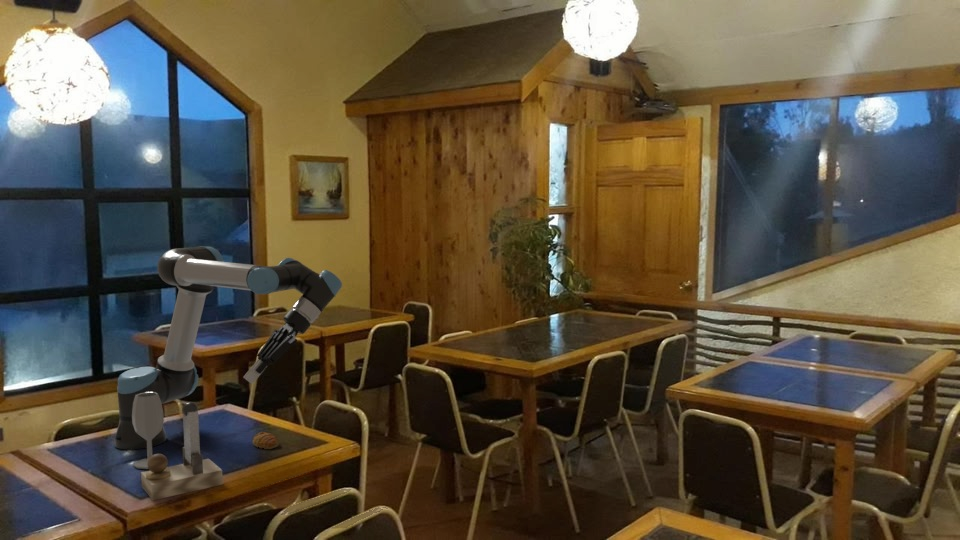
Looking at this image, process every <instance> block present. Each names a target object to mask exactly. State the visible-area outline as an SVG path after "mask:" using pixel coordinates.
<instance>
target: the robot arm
mask: <svg viewBox="0 0 960 540" xmlns="http://www.w3.org/2000/svg"><path fill="white" fill-rule="evenodd" d="M157 273H158V276H159V277H160V278H161V280H162V281H163V282H165V283H166V284H168V285H171V286H176V288H177V289H178V292H177V297H176V300H175V306H174V310H173V314H172V318H171V323H170V326H169V327H170V328H169V331H168V337H167V341H166V344H165V349H164V353H163V354H162V355H161V356H159V357H158V358H157V362H156V366H155V367H153V366H140V367H134V368H131V369H128V370H125V371H124V372H122V373H121V374H119V376H118V378H117V387H116V389H117V398H118V399H117V400H118V414H119V422H118V426H117V428H116V432H115V436H114V447H115V448H116V449H120V450H140V449H147V440H145V439H144V438H142V437H141V436H140V435H138V434H137V433H136V432H135V429H134V426H133V423H132V409H133V402H134V398H135V395H137V394H140V393H145V392H156V393H158V395H159V398H160V400H161V404H163V405H164V404H166V403H169V402H172V401H176V400H181V399H183V398H185V397H187V396H189V395H191V394H192V393H193V392H194V391H195V389H197V386H198V383H199V374H197V372H198V371H197V368H196V366H195V362H194V361H193V359H192V357H193V352H194V347H195V345H196V339H197V335H198V331H199V328H200V323H201V319H202V314H203V310H204V307H205V306H204V305H205V301H206V297H207V295H208V294H211V293H212V292H213V290H214V287H217V288H218V287H219V288H225V289H226V288H228V289H235V290H243V291H251V292H253V293H254V294H255V295H269V294H272V293H276V292H277V293H278V292H282V291H288V290H289V291H290V290H296V291H297V292H299V293H300V294H302V295H301V296H300V297H299V298H298V300H297V301H296V302H295V303H294V304H293V305H292V308H291V309H289V310H288V312H287V313H286V314H285V315H284V316H283V321H284V322H285V324H283V326H281V327H280V328H278V330H277V329H274V330H273V331H272V333H271V335H270V337H269V338H268V339H267V340H266V342H265V343H264V345H263V346H262V348H261V349H260V350H259V352H258V353H257V355H256V356H257V360H256V361H255V362H254V363H253V364H252V366H251V367H250V368H249V369H248V370H247V372H246V373H245V374H244V375H243V377H242V378H243V379H245V380H246V381H247V382H248V383H250V384H251V385H253V384H254V383H255V382H256V381H257V379H259V377H260V376H261V375H262V373H264V371H265V370H266V368H268V366H270V365H271V366H273V365H275V363H277V362H278V361H279V359H280V358H281V357H282V356H284V354H285V353H286V352H287V351H288V350H289V349H291V347H292V346H293V345H295V344H296V343H297V342H298V339H297V338H296V337H297V336H298V335H299V334H300V335H303V334H305V333H306V332H307V330H308V329H309V328H310V327H311V324H312V323H314V322H315V321H316V320H318V319H319V316H320V315H321V313H322V312H323V310H325V308H326V307H327V306H328V305H329V304H330V302H331V301H332V300H333V299H334V298H335V297H336V295H337V294H338V293H339V292H340V290H341V289H342V287H343V282H342V281H341V279H340V278H339V277H338V276H337V275H336V274H335V273H333V272H331V270H328V269H324V270H322V271H321V272H320V273H318V272H315V271H314V270H312V269H311V268H310V267H308V266H306V265H305V264H303V263H302V262H301V261H299V260H296V259H294V258H292V257H285V258H284V259H283V260H281V261H280V262H279V263H278V265H272V266H269V265H268V266H265V265H259V264H258V265H256V264H250V263H249V264H248V263H238V262H229V261H225V260H224V258H223V257H222V254H221V253H220V251H218V249H216V248H214V247H212V246H204V245H200V246H195V247H193V246H192V247H181V248H179V247H178V248H172V249H169V250H167V251H166V252H164V253H163V254H162V255H161V256H160V258H159V260H158V262H157ZM298 333H299V334H298ZM166 440H167V432H166V430H165V427H164V425H163V426H162V431H160V432H159V433H158V434H157V435H156V436H155V437H154V438H153V439H152V447H156V446H158V445H161V444H163V443H164V442H166Z"/></svg>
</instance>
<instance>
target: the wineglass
mask: <svg viewBox="0 0 960 540" xmlns="http://www.w3.org/2000/svg"><path fill="white" fill-rule="evenodd" d="M164 421H165V419H164V410H163V405H162V404H161V400H160V398H159V395H158V393H156V392H145V393H140V394H137V395H135V398H134V402H133V409H132V423H133V426H134V429H135V432H136V433H137V434H138V435H140V436H141V437H142V438H144V439H145V440H147V448H146V454H147V455H146V456H147V458H141V459H139V460H137V461H135V462H133V467H135V468H136V469H140V470H141V469H142V470H149V469H148V466H147V463H148V460H149V458H150V457H151V456H152V455H153V446H152V439H153V438H154V437H155V436H156V435H157V434H158V433H159V432H160V431H162V426H163V427H164Z"/></svg>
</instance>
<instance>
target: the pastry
mask: <svg viewBox="0 0 960 540" xmlns="http://www.w3.org/2000/svg"><path fill="white" fill-rule="evenodd" d="M251 442H252V445H253V446H254V447H255V448H258V447H259V449H262V448H264V449H263V450H271V449H274V448H277V447H279V445H280V442H279V440H278V438H277V437H276V436H275V435H274V434H273V433H270V432H266V431H260V432H258V433H257V434H254V437H252V441H251Z"/></svg>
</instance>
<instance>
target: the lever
mask: <svg viewBox="0 0 960 540" xmlns="http://www.w3.org/2000/svg"><path fill="white" fill-rule="evenodd" d="M181 412H182V422H183V423H182V425H183V444H184V446H183V447H184V448H185V460H186V461H187V462H188V463H189V464H190V465H191V466H192V456H193V455H198V454H201V447H200V446H201V445H200V425H199V424H200V423H199V406H198V405H197V403H196V402H193V401H188V402H186V403H184V405H183V406H182V411H181Z"/></svg>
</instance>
